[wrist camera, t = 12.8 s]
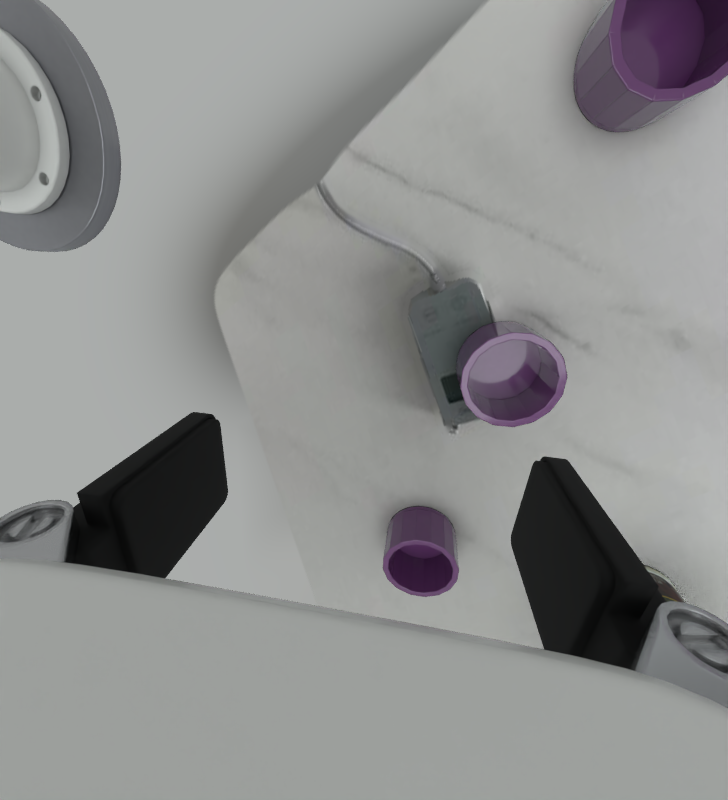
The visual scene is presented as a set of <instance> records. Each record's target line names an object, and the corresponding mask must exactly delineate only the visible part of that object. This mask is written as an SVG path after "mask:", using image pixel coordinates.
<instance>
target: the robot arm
mask: <svg viewBox="0 0 728 800" xmlns="http://www.w3.org/2000/svg"><path fill="white" fill-rule="evenodd" d="M69 159H70V151H69V138H68V133H67V128H66V123H65V119H64V116H63V113H62V110H61V107H60V104H59V101H58V98H57V96H56V94H55V92H54V90H53V88H52V86H51V84H50V81H49V80H48V78H47V77H46V75H45V73H44V72H43V70H42V69H41V67H40V65H39V64H38V62H37V61H36V60H35V59H34V58H33V56H32V55H31V54H30V53H29V52H28V50H27V49H26V48H25V47H24V46H23V45H22V44H21V43H20V42H19V41H18V40H16V39H15V38H14V37H13V36H12V35H11V34H10V33H8V32H6V31H5V30H3V29H2V28H0V211H2V212H8V213H14V214H34V213H38V212H42V211H43V210H45V209H47V208H48V207H50V206H51V205H52V204H53V203H54V202H55V201H56V200H57V199H58V197H59V196H60V194H61V192H62V190H63V188H64V186H65V182H66V179H67V175H68V171H69ZM227 493H228V488H227V478H226V470H225V461H224V452H223V444H222V435H221V427H220V422H219V421H218V420H216V419H215V417H214V416H213V415H212V414H206V413H198V412H193V413H191V414H189V415H188V416H186V417H185V418H183V419H182V420H180V421H179V422H178V423H176V424H175V425H173V426H172V427H170V428H169V429H168V430H166V431H165V432H163V433H162V434H160V435H159V436H158V437H156V438H155V439H153V440H152V441H150V442H149V443H148V444H146V445H145V446H143V447H142V448H140V449H139V450H138V451H136V452H135V453H133V454H132V455H130V456H129V457H128V458H126V459H125V460H123V461H122V462H120V463H119V464H118V465H116V466H115V467H113V468H112V469H110V470H109V471H108V472H106V473H105V474H103V475H102V476H101V477H99V478H98V479H96V480H95V481H93V482H92V483H90V484H89V485H88V486H86V487H85V488H83V489H82V490H80V491H79V492H78V493H77V494H78V497H79V500H80V503H79V504H77V505H76V506H75V507H72V505H71V504H69V503H68V502H66V501H61V500H47V501H42V502H36V503H33V504H30V505H27V506H23V507H21V508H19V509H16V510H14V511H11V512H9V513H8V514H6V515H4V516H3V517H1V518H0V800H728V624H727V623H726V622H724V621H722V620H721V619H719V618H718V617H716V616H715V615H713V614H711V613H709V612H707V611H705V610H703V609H701V608H699V607H696V606H693V605H690V604H687V603H684V602H676V601H668V602H667V601H666V600H665V599H664V597H663V596H662V594H661V593H660V592H659V590H658V587H659V586H658V584H657V583H656V582H655V580H654V579H653V577H652V576H651V575H650V573H649V572H648V571H647V569H646V568H645V566H644V565H643V564H642V562H641V561H640V559H639V558H638V557H637V555H636V554H635V553H634V551H633V550H632V548H631V547H630V546H629V544H628V543H627V541H626V540H625V539H624V537H623V536H622V535H621V533H620V532H619V530H618V529H617V528H616V526H615V525H614V524H613V522H612V521H611V519H610V518H609V517H608V515H607V514H606V512H605V511H604V510H603V508H602V507H601V506H600V504H599V503H598V501H597V500H596V499H595V497H594V496H593V494H592V493H591V492H590V490H589V489H588V488H587V486H586V485H585V483H584V482H583V481H582V479H581V478H580V476H579V475H578V474H577V472H576V471H575V470H574V468H573V467H572V465H571V464H570V463H569V461H568V460H566V459H560V458H552V457H542V459H541V460H540V461H535V462H534V463H533V466H532V469H531V472H530V475H529V479H528V482H527V485H526V488H525V492H524V495H523V498H522V501H521V505H520V508H519V511H518V514H517V518H516V521H515V524H514V527H513V531H512V534H511V545H512V549H513V552H514V555H515V559H516V562H517V565H518V568H519V571H520V574H521V577H522V581H523V584H524V587H525V590H526V593H527V596H528V599H529V603H530V606H531V609H532V612H533V615H534V618H535V621H536V625H537V628H538V631H539V634H540V637H541V640H542V643H543V647H544V649H539V648H534V647H529V646H524V645H519V644H515V643H510V642H505V641H500V640H495V639H490V638H485V637H479V636H474V635H469V634H464V633H458V632H453V631H448V630H443V629H437V628H432V627H427V626H422V625H416V624H411V623H406V622H401V621H395V620H390V619H385V618H380V617H374V616H369V615H363V614H358V613H353V612H347V611H342V610H336V609H331V608H326V607H320V606H315V605H309V604H304V603H298V602H293V601H288V600H282V599H277V598H271V597H266V596H260V595H255V594H250V593H244V592H238V591H233V590H227V589H222V588H216V587H210V586H205V585H199V584H194V583H188V582H182V581H176V580H171V579H165V578H166V577H167V575H168V574H169V573H170V571H171V570H172V569H173V567H174V566H175V565H176V564H177V562H178V561H179V560H180V559H181V557H182V556H183V555H184V553H185V552H186V551H187V550H188V548H189V547H190V546H191V545H192V543H193V542H194V541H195V539H196V538H197V537H198V536H199V534H200V533H201V532H202V530H203V529H204V528H205V526H206V525H207V524H208V523H209V521H210V520H211V519H212V518H213V516H214V515H215V513H216V512H217V511H218V510H219V509H220V507H221V506H222V505H223V504H224V502H225V500H226V498H227V495H228V494H227Z"/></svg>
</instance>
